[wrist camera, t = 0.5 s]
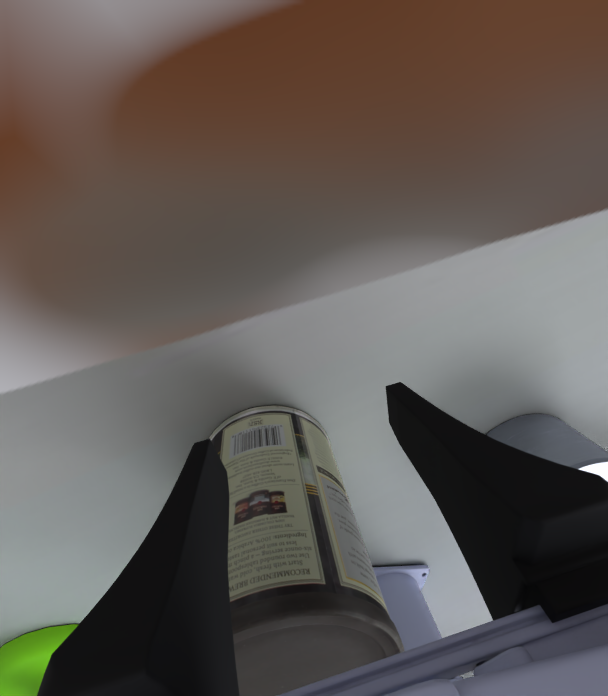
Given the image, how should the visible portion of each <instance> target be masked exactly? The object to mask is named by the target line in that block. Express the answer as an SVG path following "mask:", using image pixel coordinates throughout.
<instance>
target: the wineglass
mask: <svg viewBox="0 0 608 696" xmlns="http://www.w3.org/2000/svg"><path fill="white" fill-rule="evenodd" d="M78 625H79V624H71V625H64V626H56V627H48V628H44V629H41V630H37V631H34V632H31V633H27V634H24V635H22V636H20V637H18V638H16V639H14V640H12V641H10V642H8V643H6V644H4V645H3V646H2V647H1V648H0V696H37V694H38V691H39V688H40V685H41V682H42V679H43V676H44V673H45V670H46V668H47V665H48V663H49V660H50V657H51V655H52V653H53V652H54V651H55V650H56V649H57V648H58V647H59V646H60V645H61V644H62V643H63V641H64V640H65V639H66V638H67V637H68V636H69V635H70V634H71V633H72V632H73V630H74V629H75V628H76V627H77V626H78Z"/></svg>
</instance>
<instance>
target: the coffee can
mask: <svg viewBox="0 0 608 696" xmlns="http://www.w3.org/2000/svg"><path fill="white" fill-rule="evenodd" d="M209 439H210V440H211V442H212V444H213V446H214V447H215V449H216V451H217V453H218V455H219V457H220V459H221V461H222V463H223V465H224V467H225V469H226V471H227V475H228V485H229V534H228V579H229V594H230V608H231V620H232V631H233V642H234V652H235V662H236V670H237V679H238V687H239V696H278V695H280V694H283V693H286V692H289V691H292V690H295V689H298V688H301V687H303V686H306V685H309V684H312V683H315V682H318V681H321V680H324V679H327V678H329V677H332V676H335V675H338V674H341V673H344V672H347V671H350V670H353V669H355V668H358V667H361V666H364V665H367V664H370V663H373V662H376V661H379V660H381V659H384V658H387V657H390V656H393V655H396V654H399V653H402V652H405V651H404V646H403V643H402V641H401V638H400V635H399V633H398V631H397V628H396V627H395V624H394V623H393V621H392V620H391V619H390V616H389V613H388V610H387V607H386V605H385V602H384V599H383V596H382V593H381V590H380V587H379V585H378V582H377V579H376V576H375V573H374V570H373V567H372V565H371V562H370V559H369V556H368V553H367V550H366V548H365V545H364V542H363V539H362V536H361V533H360V530H359V527H358V525H357V522H356V519H355V516H354V513H353V510H352V507H351V504H350V501H349V498H348V496H347V493H346V490H345V487H344V484H343V481H342V478H341V475H340V473H339V470H338V467H337V464H336V461H335V458H334V455H333V452H332V449H331V444H330V440H329V438H328V436H327V434H326V432H325V430H324V429H323V428H322V426H321V425H320V423H319V422H317V421H316V420H314V419H313V418H312V417H311V416H309V415H307V414H306V413H304V412H302V411H299V410H297V409H294V408H290V407H285V406H277V405H274V406H261V407H255V408H251V409H248V410H245V411H242V412H240V413H238V414H236V415H234V416H232V417H230V418H229V419H227V420H225V421H224V422H223V423H222V424H221V425H220V426H219V427H218V428H217V429H216V430H215V431H214V432H213V433H212V435H211V436H210V437H209Z"/></svg>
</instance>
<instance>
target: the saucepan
mask: <svg viewBox="0 0 608 696" xmlns="http://www.w3.org/2000/svg"><path fill="white" fill-rule="evenodd" d="M486 435H487V436H489V437H491V438H493V439H495V440H497V441H500V442H502V443H504V444H507V445H509V446H512V447H514V448H517V449H519V450H522V451H524V452H527V453H529V454H532V455H535V456H538V457H541V458H544V459H547V460H550V461H553V462H556V463H559V464H562V465H565V466H569V467H572V468H576V469H580V470H583V471H587V472H590V473H594V474H598V475H600V476H601V477H602V478H604V479H605V480H606V481H608V452H607V451H606V450H604V449H603V448H601V447H600V446H598V445H597V444H595V443H594V442H592V441H591V440H590V439H588V438H587V437H585V436H584V435H582V434H581V433H579V432H578V431H576V430H575V429H574V428H572V427H571V426H569V425H568V424H566V423H565V422H563V421H562V420H560V419H559V418H557V417H555V416H551V415H548V414H528V415H523V416H519V417H516V418H513V419H510V420H508V421H506V422H504V423H502V424H500V425H499V426H497V427H495V428H494V429H493V430H491V431H490V432H488V433H487V434H486Z"/></svg>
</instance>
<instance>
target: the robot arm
mask: <svg viewBox="0 0 608 696" xmlns="http://www.w3.org/2000/svg"><path fill="white" fill-rule="evenodd" d="M386 394H387V404H388V414H389V423H390V425H391V427H392V429H393V431H394V434H395V436H396V438H397V440H398V442H399V444H400V445H401V447H402V449H403V450H404V452H405V453H406V455H407V457H408V458H409V460H410V461H411V463H412V464H413V466H414V467H415V469H416V471H417V472H418V474H419V475H420V477H421V478H422V480H423V481H424V483H425V484H426V486H427V488H428V489H429V491H430V492H431V494H432V496H433V497H434V499H435V501H436V502H437V504H438V506H439V508H440V510H441V512H442V514H443V516H444V518H445V520H446V522H447V524H448V526H449V528H450V530H451V532H452V534H453V536H454V538H455V540H456V542H457V544H458V546H459V548H460V550H461V552H462V554H463V556H464V558H465V560H466V562H467V564H468V566H469V568H470V571H471V573H472V575H473V577H474V579H475V581H476V583H477V585H478V588H479V590H480V592H481V594H482V596H483V599H484V601H485V603H486V605H487V607H488V610H489V612H490V614H491V616H492V619H493V621H491V622H488V623H485V624H482V625H480V626H477V627H474V628H471V629H468V630H465V631H462V632H459V633H456V634H454V635H451V636H448V637H445V638H442V637H441V634H440V632H439V630H438V628H437V626H436V623H435V621H434V619H433V617H432V614H431V612H430V610H429V608H428V605H427V603H426V601H425V599H424V596H423V594H422V592H421V590H422V588H423V586H424V583H425V581H426V578H427V576H428V574H429V571H430V569H429V567H428V566H427V565H412V566H392V567H373V570H374V573H375V576H376V579H377V582H378V585H379V587H380V590H381V593H382V596H383V599H384V602H385V605H386V607H387V610H388V613H389V616H390V619H391V620H392V621H393V623H394V624H395V627H396V628H397V631H398V633H399V635H400V638H401V641H402V643H403V646H404V651H405V652H402V653H399V654H396V655H393V656H390V657H387V658H384V659H381V660H379V661H376V662H373V663H370V664H367V665H364V666H361V667H358V668H355V669H353V670H350V671H347V672H344V673H341V674H338V675H335V676H332V677H329V678H327V679H324V680H321V681H318V682H315V683H312V684H309V685H306V686H303V687H301V688H298V689H295V690H292V691H289V692H286V693H283V694H280V695H278V696H608V481H606V480H605V479H604V478H602V477H601V476H600V475H598V474H594V473H590V472H587V471H583V470H580V469H576V468H572V467H569V466H565V465H562V464H559V463H556V462H553V461H550V460H547V459H544V458H541V457H538V456H535V455H532V454H529V453H527V452H524V451H522V450H519V449H517V448H514V447H512V446H509V445H507V444H504V443H502V442H500V441H497V440H495V439H493V438H491V437H489V436H487V435H485V434H483V433H480V432H478V431H477V430H475V429H473V428H471V427H469V426H467V425H465V424H464V423H462V422H460V421H458V420H457V419H455V418H453V417H452V416H450V415H448V414H447V413H445V412H444V411H442V410H440V409H439V408H437V407H436V406H434V405H433V404H431V403H430V402H428V401H427V400H425V399H424V398H422V397H421V396H420V395H418V394H417V393H415V392H414V391H412V390H411V389H410V388H408V387H407V386H406V385H404V384H403V383H401V382H399V383H395V384H392V385H389V386H386ZM228 534H229V485H228V475H227V471H226V469H225V467H224V465H223V463H222V461H221V459H220V457H219V455H218V453H217V451H216V449H215V447H214V446H213V444H212V442H211V440H210V439H207V440H204V441H200V442H197V443H194V445H193V447H192V449H191V451H190V454H189V456H188V458H187V460H186V463H185V465H184V467H183V469H182V471H181V473H180V476H179V478H178V480H177V482H176V484H175V486H174V488H173V490H172V492H171V494H170V496H169V498H168V500H167V502H166V503H165V505H164V507H163V509H162V511H161V513H160V514H159V516H158V518H157V520H156V521H155V523H154V525H153V527H152V528H151V530H150V531H149V533H148V535H147V536H146V538H145V539H144V541H143V542H142V544H141V546H140V547H139V549H138V550H137V552H136V553H135V554H134V556H133V557H132V559H131V560H130V562H129V563H128V564H127V566H126V567H125V568H124V570H123V571H122V573H121V574H120V575H119V577H118V578H117V579H116V581H115V582H114V583H113V584H112V586H111V587H110V588H109V589H108V591H107V592H106V593H105V595H104V596H103V597H102V598H101V599H100V601H99V602H98V603H97V604H96V605H95V607H94V608H93V609H92V610H91V611H90V612H89V614H88V615H87V616H86V617H85V618H84V619H83V621H82V622H81V623H80V624H79V625H78V626H77V627H76V628H75V629H74V630H73V632H72V633H71V634H70V635H69V636H68V637H67V638H66V639H65V640H64V641H63V643H62V644H61V645H60V646H59V647H58V648H57V649H56V650H55V651H54V652H53V653H52V655H51V657H50V660H49V663H48V665H47V668H46V670H45V673H44V676H43V679H42V682H41V685H40V688H39V691H38V694H37V696H239V687H238V679H237V670H236V662H235V652H234V642H233V631H232V620H231V608H230V594H229V579H228ZM473 670H474V672H473V674H474V677H469V678H465V679H463V677H459V675H462V674H465V673H467V672H470V671H473Z"/></svg>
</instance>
